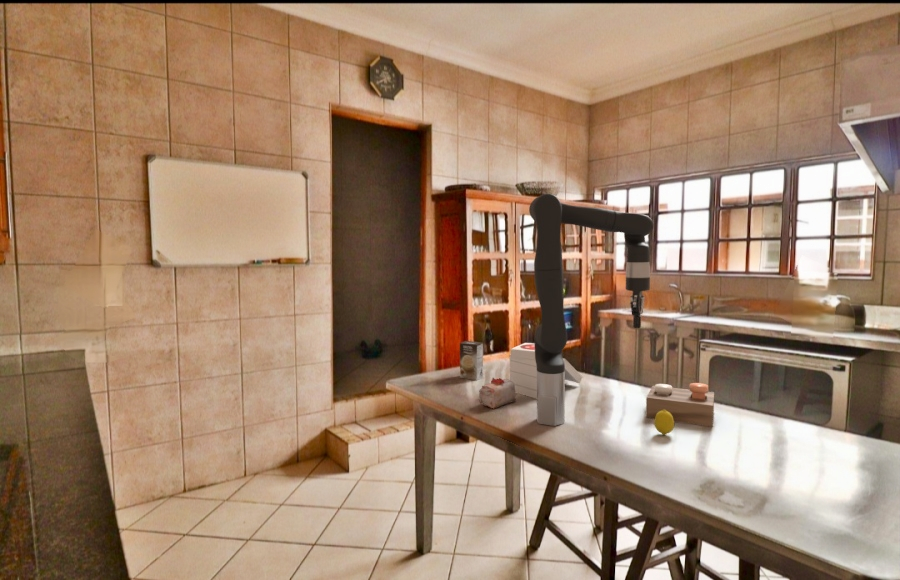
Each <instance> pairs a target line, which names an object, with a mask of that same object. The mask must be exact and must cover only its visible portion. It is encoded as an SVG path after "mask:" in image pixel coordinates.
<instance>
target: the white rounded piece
mask: <svg viewBox="0 0 900 580" xmlns="http://www.w3.org/2000/svg"><path fill="white" fill-rule="evenodd" d="M654 386H655V392H657V394H661V395H669V396H670V394H671V393H672V388H673V386H672V385H671V384H666V383H656V384H654Z"/></svg>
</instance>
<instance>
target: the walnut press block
mask: <svg viewBox="0 0 900 580" xmlns="http://www.w3.org/2000/svg"><path fill="white" fill-rule="evenodd" d="M645 402H646V407H645V408H646V411H645V415H646V416H645V418H647V419H654V420H655V416H656V414H657V413H658V412H659V411H663V410H666V411H668V412H669V413H671V415H672V416H673V419H674V423H675V422H676V423H682V424H687V425H688V424H689V425H698V426H704V427H711V428H712V427H713V425H714V414H715V411H714V410H715V404H714V403H715V392H714V391H708V393H705V400H704V399H695V398H692V392H691V391H690V389H686V388H677V387H672V393H671V394H670V396H669V395H661V394H657V392H655V385H652V386H651V387H650V390H649V391H648V394H647V396H646V401H645Z"/></svg>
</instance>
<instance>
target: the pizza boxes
mask: <svg viewBox="0 0 900 580" xmlns="http://www.w3.org/2000/svg"><path fill="white" fill-rule="evenodd" d="M509 351H510V354H509V380H511V381H513V382H514V385H515V394H520V395H523V396H525V395H526V396H525V397H529V398H532V397H533V398H532V399H535V398H536V399H535V400H537V366H536V361H535V342H524V343H521V344H519V345H517V346H514V347H512V348H510V349H509ZM563 361H564V364H565V381H569V382H573V383H577V384H580V383H581V381H582V379H583V376H582V375H581V374H580V372H578V370H576V369H575V367H574V366H573V365H572V364H571V363H570V362H569V361H568V360H567V359H566V358H563Z"/></svg>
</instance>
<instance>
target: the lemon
mask: <svg viewBox="0 0 900 580" xmlns="http://www.w3.org/2000/svg"><path fill="white" fill-rule="evenodd" d="M674 426H675V422H674V419H673V416H672V415H671V413H669V412H668V411H666V410H663V411H659V412H658V413H657V414H656V416H655V419H654V428H655V429H656V430H657V431H658V432H659V433H661V434H662V435H663V436H667V434H670V433H671V432H672V431H673V429H674V428H675V427H674Z"/></svg>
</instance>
